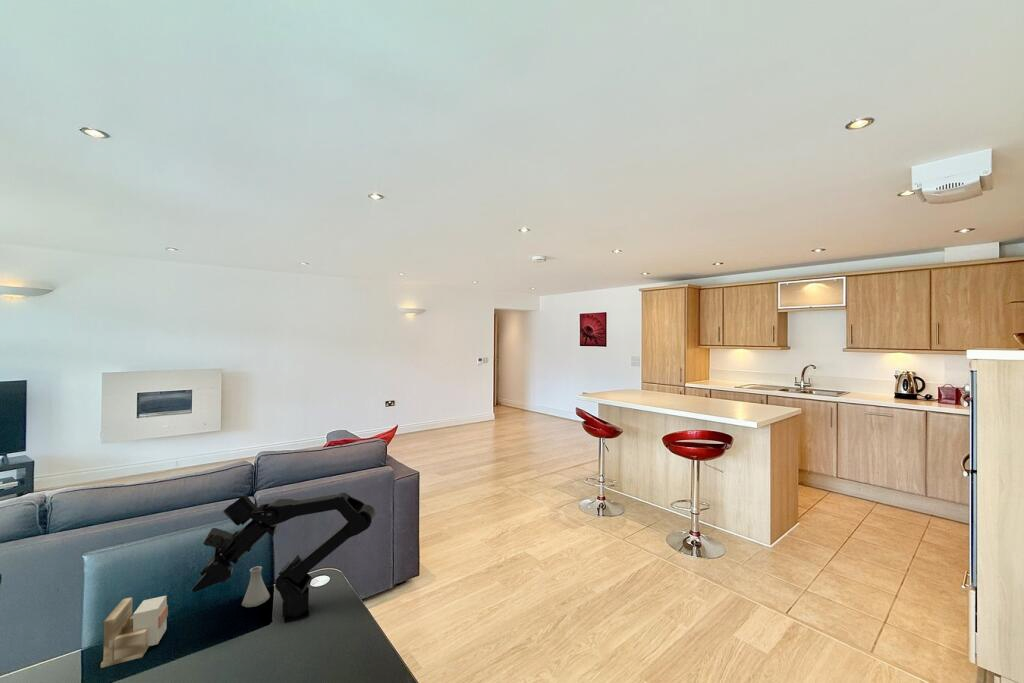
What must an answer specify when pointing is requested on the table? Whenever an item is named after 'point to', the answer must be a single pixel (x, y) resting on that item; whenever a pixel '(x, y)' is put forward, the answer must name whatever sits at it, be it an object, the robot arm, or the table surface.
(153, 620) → the white box
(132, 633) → the beige toy armchair
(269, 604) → the table surface
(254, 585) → the flask
